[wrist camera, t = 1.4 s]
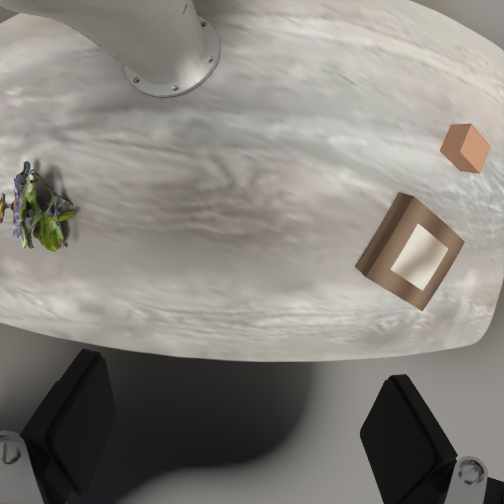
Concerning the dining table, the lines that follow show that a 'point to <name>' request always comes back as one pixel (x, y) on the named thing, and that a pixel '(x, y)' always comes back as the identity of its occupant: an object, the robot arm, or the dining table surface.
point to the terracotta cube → (465, 148)
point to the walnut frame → (410, 252)
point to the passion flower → (27, 200)
